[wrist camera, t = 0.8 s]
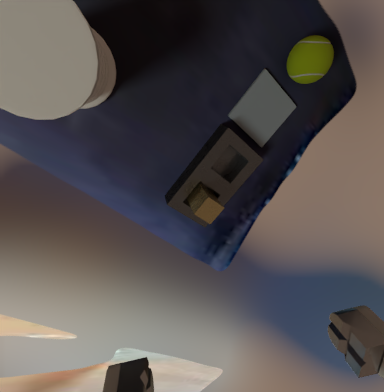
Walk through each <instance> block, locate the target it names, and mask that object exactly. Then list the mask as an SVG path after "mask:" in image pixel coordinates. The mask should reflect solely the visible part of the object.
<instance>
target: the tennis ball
mask: <svg viewBox="0 0 384 392" xmlns="http://www.w3.org/2000/svg"><path fill="white" fill-rule="evenodd" d="M333 57H334V51H333V46H332V44H331V42H330V41H329V40H328V39H327V38H325V37H323V36H318V35H314V36H309V37H306V38H304V39H302V40H301V41H299V42H298V43H297V44H296V45H295V46H294V47H293V48H292V50H291V52H290V54H289V56H288V59H287V71H288V74H289V76H290V77H291V78H292V79H293V80H294V81H295V82H298V83H301V84H308V83H312V82H315V81H317V80H319V79H320V78H322V77H323V76H324V75H325V74H326V73H327V71H328V70H329V68H330V66H331V64H332V61H333Z"/></svg>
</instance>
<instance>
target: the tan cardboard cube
mask: <svg viewBox="0 0 384 392" xmlns="http://www.w3.org/2000/svg"><path fill="white" fill-rule="evenodd" d="M187 200H188V203H189V205H190V207H191V209H192V211H193V213H194V214H195V215H196V216H198V217H199V218H201V219H203V220H204V221H206V222H208V223H209V224H211V223H212V222H213V221H214V219H215V218H216V217H217V216H218V215H219V214H220V213H221V211H222V210H223V209H224V207H223V205H222V204H221V203H220V201H219V200H218V199H217V197H216V196H215V195H214V193H213V192H212V191H211V190H210V189H209V188H208V187H206V186H205V185H203V184H202V183H200V182H199V183H198V184H197V185H196V187H195V188H194V189H193V190H192V192H191V193H190V194H189V195H188V196H187Z"/></svg>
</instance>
